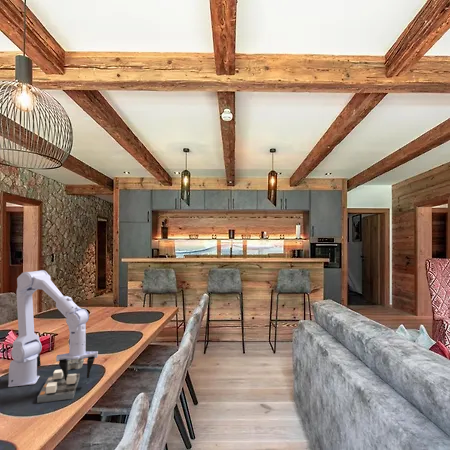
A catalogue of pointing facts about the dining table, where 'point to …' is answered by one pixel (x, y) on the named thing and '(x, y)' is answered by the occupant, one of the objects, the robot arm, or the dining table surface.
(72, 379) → the cream small block
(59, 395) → the switch unit
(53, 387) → the cream small block
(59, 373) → the white small block
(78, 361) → the egg carton
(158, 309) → the dining table surface
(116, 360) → the dining table surface
